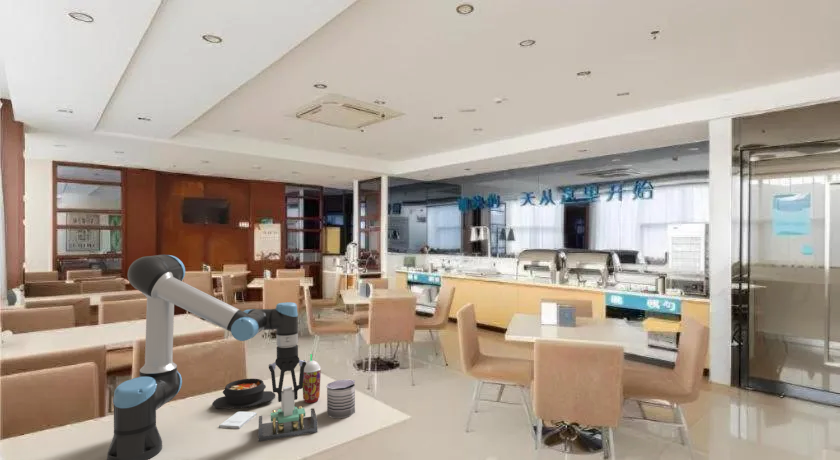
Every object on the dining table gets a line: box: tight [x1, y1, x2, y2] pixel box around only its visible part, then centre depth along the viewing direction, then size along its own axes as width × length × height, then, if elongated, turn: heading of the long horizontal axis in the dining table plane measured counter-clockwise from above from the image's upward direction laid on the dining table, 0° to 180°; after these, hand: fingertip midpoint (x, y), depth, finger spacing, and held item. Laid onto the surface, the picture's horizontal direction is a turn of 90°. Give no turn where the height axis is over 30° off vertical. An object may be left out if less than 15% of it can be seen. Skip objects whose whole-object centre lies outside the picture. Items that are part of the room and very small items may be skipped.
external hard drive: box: [218, 411, 257, 430], centre depth 166 cm, size 2×8×12 cm
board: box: [270, 385, 306, 423], centre depth 158 cm, size 12×10×10 cm
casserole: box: [211, 378, 276, 409], centre depth 184 cm, size 25×19×8 cm
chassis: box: [258, 405, 318, 442], centre depth 158 cm, size 20×11×6 cm, turn 110°
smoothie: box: [302, 353, 322, 404], centre depth 186 cm, size 8×8×20 cm
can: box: [326, 378, 356, 419], centre depth 174 cm, size 11×11×12 cm
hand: (287, 409), depth 158 cm, fingers closed on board, 3 cm apart
